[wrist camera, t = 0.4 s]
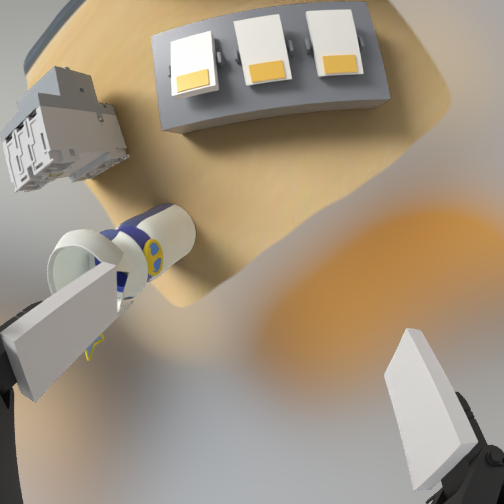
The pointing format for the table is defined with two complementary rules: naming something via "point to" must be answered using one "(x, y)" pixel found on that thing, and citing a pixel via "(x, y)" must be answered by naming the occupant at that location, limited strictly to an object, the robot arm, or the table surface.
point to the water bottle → (125, 252)
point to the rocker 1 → (193, 66)
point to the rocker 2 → (262, 49)
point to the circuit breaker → (61, 132)
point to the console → (273, 93)
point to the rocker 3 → (334, 42)
